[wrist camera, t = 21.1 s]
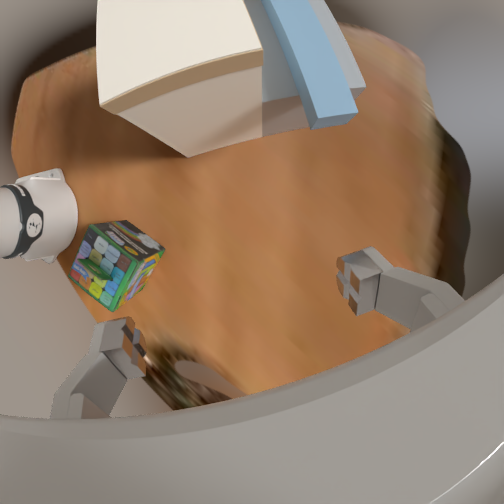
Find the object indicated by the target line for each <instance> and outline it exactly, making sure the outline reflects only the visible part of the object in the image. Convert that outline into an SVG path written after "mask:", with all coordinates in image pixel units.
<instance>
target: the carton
mask: <svg viewBox="0 0 504 504" xmlns="http://www.w3.org/2000/svg"><path fill="white" fill-rule="evenodd" d="M96 29H97V30H96V55H97V79H98V93H99V104H100V107H101V108H103V109H105V110H107V111H109V112H110V113H112V114H114V115H116V114H117V115H119V116H121V117H122V118H124V119H126V120H128V121H129V122H131V123H133V124H134V125H136V126H138V127H139V128H141V129H143V130H144V131H146V132H148V133H149V134H151V135H152V136H154V137H156V138H157V139H159V140H161V141H162V142H164V143H165V144H167V145H169V146H170V147H172V148H173V149H175V150H177V151H178V152H180V153H181V154H183V155H185V156H186V157H188V158H189V157H192V156H195V155H198V154H202V153H205V152H208V151H212V150H215V149H218V148H222V147H225V146H229V145H233V144H236V143H240V142H244V141H248V140H252V139H256V138H260V137H262V66H263V48H262V45H261V42H260V40H259V37H258V35H257V32H256V30H255V27H254V25H253V22H252V20H251V17H250V15H249V12H248V10H247V8H246V5H245V3H244V1H243V0H98V7H97V28H96Z"/></svg>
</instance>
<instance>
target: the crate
mask: <svg viewBox="0 0 504 504" xmlns="http://www.w3.org/2000/svg"><path fill="white" fill-rule="evenodd" d="M243 1H244V3H245V5H246V8H247V10H248V12H249V15H250V17H251V20H252V22H253V25H254V27H255V30H256V32H257V35H258V37H259V40H260V42H261V45H262V48H263V66H262V137H264V136H269V135H273V134H277V133H282V132H287V131H291V130H296V129H301V128H307V127H310V126H309V123H308V120H307V117H306V114H305V111H304V108H303V105H302V102H301V99H300V96H299V93H298V90H297V87H296V84H295V82H294V79H293V76H292V73H291V71H290V68H289V65H288V63H287V60H286V58H285V55H284V53H283V50H282V48H281V45H280V43H279V40H278V38H277V36H276V33H275V31H274V29H273V26H272V24H271V22H270V19H269V17H268V15H267V13H266V11H265V8H264V6H263V4H262V2H261V0H243ZM308 2H309V3H310V5H311V7H312V9H313V10H314V12H315V14H316V16H317V18H318V20H319V22H320V24H321V25H322V27H323V29H324V31H325V33H326V35H327V38H328V40H329V42H330V44H331V46H332V48H333V50H334V52H335V55H336V57H337V59H338V61H339V64H340V66H341V68H342V71H343V73H344V76H345V78H346V81H347V83H348V86H349V88H350V91H351V94H352V96H353V99H354V100H355V99H356V98H357V97H358V96H359V95H360V94H361V93H362V91H363V90H364V89H365V88H366V85H365V82H364V80H363V77H362V75H361V72H360V70H359V68H358V65H357V63H356V61H355V59H354V57H353V54H352V52H351V50H350V48H349V46H348V44H347V42H346V40H345V38H344V36H343V34H342V32H341V30H340V28H339V26H338V24H337V22H336V21H335V19H334V17H333V15H332V14H331V12H330V10H329V8H328V7H327V5H326V3H325V1H324V0H308Z"/></svg>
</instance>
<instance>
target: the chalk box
mask: <svg viewBox="0 0 504 504" xmlns="http://www.w3.org/2000/svg"><path fill="white" fill-rule="evenodd" d="M164 251H165V248H164V247H163V246H161V245H160V244H159V243H157V242H156V241H155V240H153V239H152V238H150V237H149V236H148V235H146V234H145V233H143V232H142V231H141V230H139V229H138V228H137V227H135V226H134V225H133V224H131V223H130V222H128V221H127V220H124V221H116V222H108V223H100V224H90V225H89V227H88V229H87V232H86V234H85V236H84V238H83V240H82V243H81V245H80V248H79V250H78V252H77V255H76V257H75V260H74V262H73V265H72V268H71V270H70V272H69V275H68V277H69V278H70V279H72V280H73V281H74V282H75V283H76V284H77V285H78V286H79V287H81V288H82V289H83V290H84V291H85V292H86V293H88V294H89V295H90V296H91V297H93V298H94V299H95V300H97V301H98V302H99V303H101V304H102V305H103V306H104V307H106V308H107V309H108V310H109V311H111V312H114V311H115V310H117V309H118V308H119V307H120V306H122V305H123V304H124V303H126V302H127V301H128V300H129V299H131V298H132V297H133V296H134V295H136V294H137V293H138V292H140V291H141V290H142V289H143V287H144V286H145V284H146V282H147V281H148V279H149V277H150V275H151V273H152V272H153V270H154V268H155V267H156V265H157V263H158V261H159V260H160V258H161V256H162V254H163V253H164Z"/></svg>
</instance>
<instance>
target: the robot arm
mask: <svg viewBox="0 0 504 504" xmlns="http://www.w3.org/2000/svg"><path fill="white" fill-rule="evenodd" d="M77 222H78V210H77V203H76V200H75V197H74V194H73V192H72V190H71V189H70V187H69V186H68V185H67V184H66V182H65V179H64V176H63V172H62V170H61V169H60V168H56V169H52V170H48V171H44V172H40V173H36V174H32V175H29V176H25V177H22V178H19V179H17V181H16V183H15V184H8V185H3V186H1V187H0V258H4V259H9V258H16V257H18V256H20V257H21V258H23V259H25V261H32V260H37V259H42V260H43V261H45V262H46V263H53V262H54V261H55V260H56V258H57V256H58V254H59V253H60V252H62V251H63V250H65V249H66V248H67V247H68V246H69V245H70V243H71V242H72V240H73V238H74V235H75V232H76V228H77ZM337 268H338V269H339V272H338V274H337V275H336V276H337V285H338V289H339V291H340V293H341V295H342V296H343V297H344V298H346V299H348V300H349V306H350V308H351V309H352V311H353V312H354V313H355V315H356V316H358V315H361V314H364V313H366V312H369V311H371V310H374V309H375V310H376V311H377V312H379V313H381V314H383V315H385V316H387V317H389V318H391V319H392V320H394V321H396V322H398V323H400V324H402V325H404V326H406V327H407V328H409V329H411V331H410V333H409V334H407V335H405V336H403V337H401V338H399V339H397V340H395V341H393V342H391V343H389V344H387V345H385V346H383V347H380V348H378V349H376V350H374V351H372V352H369V353H367V354H365V355H363V356H360V357H358V358H356V359H353V360H351V361H348V362H346V363H344V364H341V365H339V366H336V367H334V368H331V369H328V370H326V371H323V372H320V373H318V374H315V375H312V376H309V377H306V378H303V379H301V380H298V381H295V382H292V383H288V384H285V385H282V386H279V387H276V388H272V389H269V390H265V391H262V392H258V393H255V394H251V395H247V396H243V397H239V398H235V399H231V400H227V401H222V402H218V403H213V404H208V405H203V406H198V407H193V408H188V409H182V410H176V411H170V412H163V413H156V414H147V415H139V416H128V417H117V418H112V417H110V416H109V415H110V413H111V410H112V409H113V407H114V405H115V403H116V401H117V399H118V397H119V395H120V393H121V392H122V390H123V388H124V386H125V384H126V382H127V379H132V378H137V377H142V376H146V361H145V360H144V359H143V357H144V356H145V354H146V351H147V347H146V342H145V338H144V336H143V334H142V333H141V331H140V330H138V329H136V328H135V322H134V321H133V319H132V318H131V317H129V316H128V317H123V318H118V319H114V320H109V321H105V322H100V323H97V324H96V325H95V328H94V332H93V336H92V340H91V344H90V348H89V353H88V354H87V355H85V356H84V357H83V358H82V360H81V361H80V362H79V363H78V364H77V366H76V367H75V368H74V369H73V371H72V372H71V373H70V375H69V376H68V377H67V378H66V380H65V381H64V382H63V384H62V385H61V386H60V387H59V389H58V390H57V391H56V393H55V394H54V399H53V404H52V410H51V415H50V419H43V418H28V417H16V416H8V415H1V414H0V504H504V274H503V275H502V276H500V277H499V278H498V279H496V280H495V281H493V282H492V283H491V284H489V285H488V286H487V287H485V288H484V289H482V290H481V291H479V292H478V293H476V294H475V295H473V296H472V297H470V298H469V299H467V300H466V301H465V300H464V299H463V298H462V297H461V296H460V295H459V294H458V293H457V292H456V291H455V290H454V289H453V288H452V287H451V286H450V285H449V284H448V283H446V282H443V281H440V280H437V279H434V278H431V277H428V276H425V275H421V274H418V273H415V272H412V271H409V270H406V269H403V268H400V267H396V268H394V267H393V266H392V265H391V264H390V263H389V262H388V261H387V260H386V259H385V258H384V257H383V256H382V255H381V254H380V253H379V252H378V251H377V250H376V249H375V248H374V247H371V246H370V247H367V248H364V249H361V250H360V251H356V252H353V253H350V254H347V255H344V256H341V257H338V258H337Z"/></svg>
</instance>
